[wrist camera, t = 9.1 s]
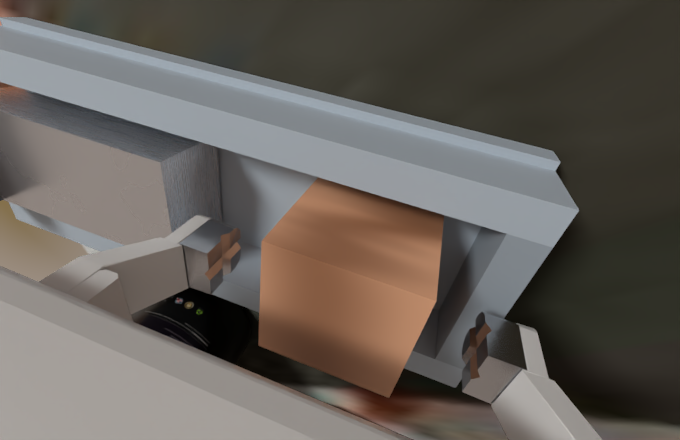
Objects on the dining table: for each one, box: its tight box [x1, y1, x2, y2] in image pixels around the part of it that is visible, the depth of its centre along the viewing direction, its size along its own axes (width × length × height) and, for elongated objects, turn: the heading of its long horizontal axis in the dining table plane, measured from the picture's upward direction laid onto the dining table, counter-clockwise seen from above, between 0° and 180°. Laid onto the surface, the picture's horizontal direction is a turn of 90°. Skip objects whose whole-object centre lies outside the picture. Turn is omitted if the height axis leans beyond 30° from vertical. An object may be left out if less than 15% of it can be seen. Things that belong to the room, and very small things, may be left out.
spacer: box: [258, 177, 444, 398], centre depth 11 cm, size 4×4×5 cm
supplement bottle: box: [131, 287, 251, 365], centre depth 17 cm, size 7×7×12 cm
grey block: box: [0, 82, 222, 246], centre depth 13 cm, size 10×4×5 cm, turn 80°
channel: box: [0, 17, 579, 388], centre depth 14 cm, size 22×9×4 cm, turn 80°
